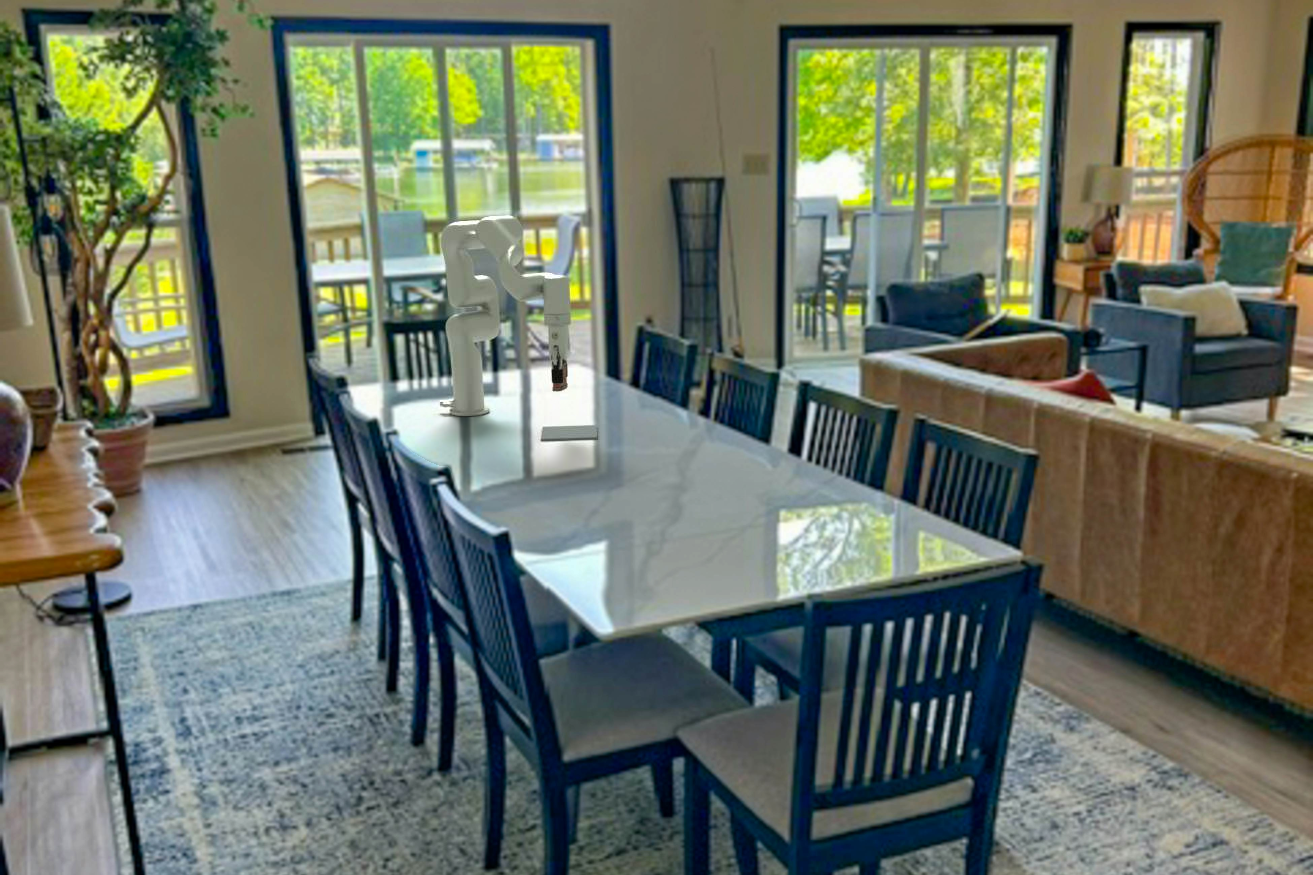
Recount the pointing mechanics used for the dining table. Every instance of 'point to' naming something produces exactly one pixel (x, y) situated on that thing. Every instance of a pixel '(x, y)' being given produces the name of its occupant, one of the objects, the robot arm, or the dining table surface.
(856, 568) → the dining table surface
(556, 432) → the mat
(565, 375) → the lighter
